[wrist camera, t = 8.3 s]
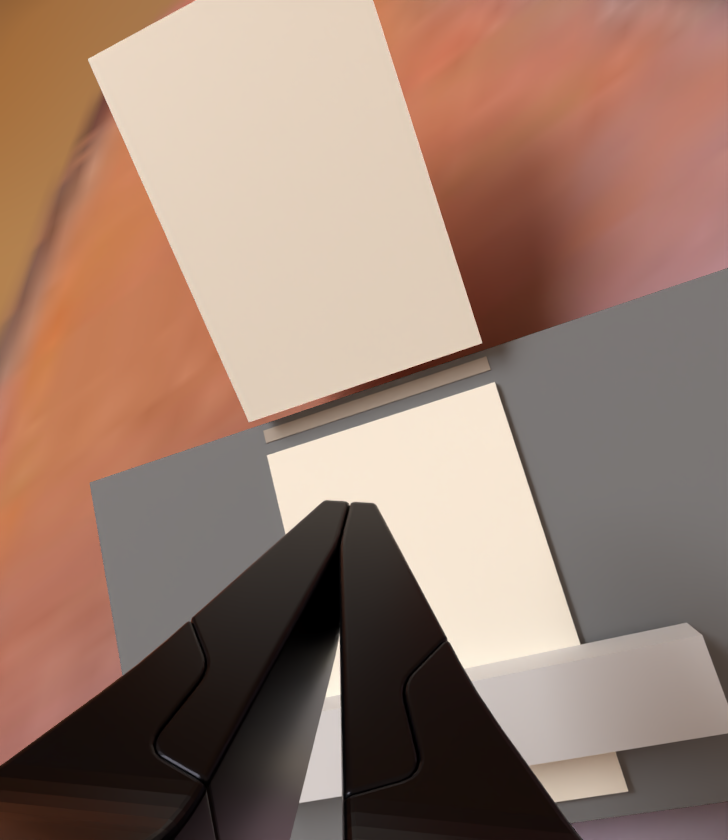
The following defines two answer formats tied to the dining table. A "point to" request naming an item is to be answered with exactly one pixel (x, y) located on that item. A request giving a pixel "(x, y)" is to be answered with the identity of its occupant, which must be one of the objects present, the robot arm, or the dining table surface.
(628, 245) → the dining table surface
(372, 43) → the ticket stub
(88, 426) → the dining table surface
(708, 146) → the dining table surface
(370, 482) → the board
